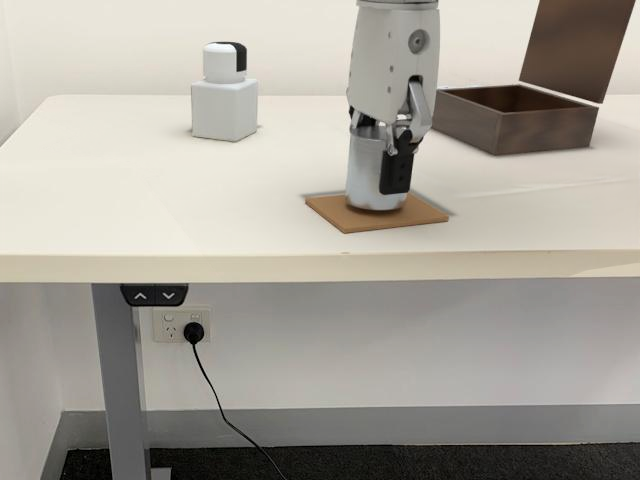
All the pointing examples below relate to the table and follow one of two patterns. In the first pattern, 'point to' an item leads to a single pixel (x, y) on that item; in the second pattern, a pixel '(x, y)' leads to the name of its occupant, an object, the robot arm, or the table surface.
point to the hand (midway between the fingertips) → (377, 181)
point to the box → (513, 119)
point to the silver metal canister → (369, 170)
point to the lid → (576, 46)
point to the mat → (374, 214)
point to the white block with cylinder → (224, 94)
